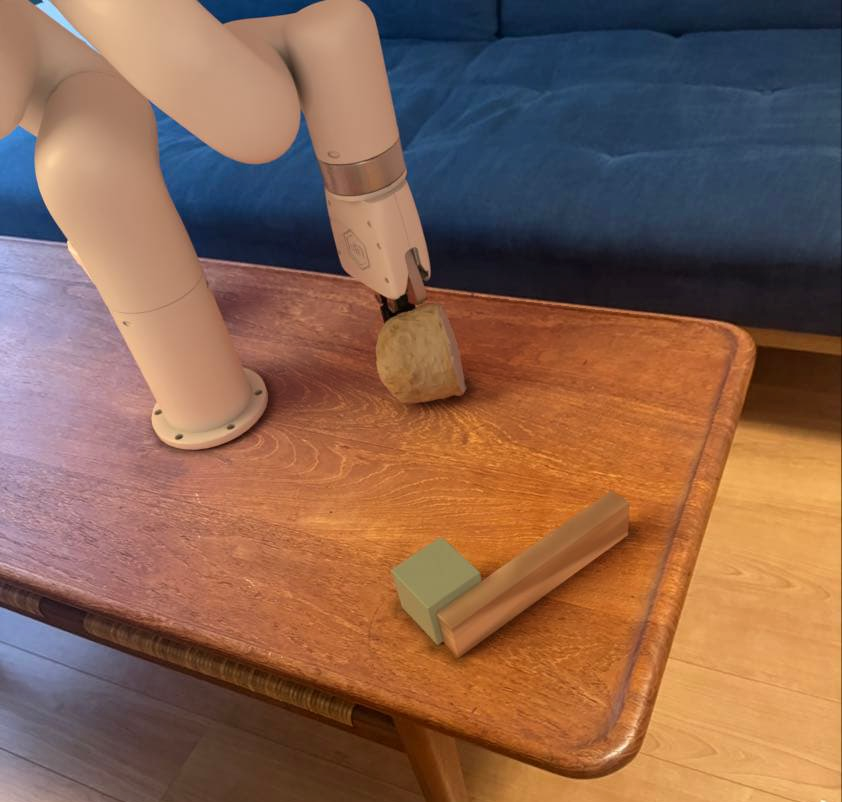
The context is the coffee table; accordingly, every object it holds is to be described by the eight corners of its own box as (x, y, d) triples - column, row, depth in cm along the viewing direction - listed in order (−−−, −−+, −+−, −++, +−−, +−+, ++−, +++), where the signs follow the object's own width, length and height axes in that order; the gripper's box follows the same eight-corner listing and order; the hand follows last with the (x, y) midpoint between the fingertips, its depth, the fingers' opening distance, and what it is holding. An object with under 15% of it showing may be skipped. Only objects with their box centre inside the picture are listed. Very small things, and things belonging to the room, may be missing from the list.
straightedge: (443, 641, 64) (435, 612, 61) (611, 522, 69) (611, 489, 66) (458, 658, 63) (451, 629, 60) (628, 535, 68) (629, 502, 65)
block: (401, 607, 67) (390, 569, 63) (449, 574, 69) (441, 535, 65) (437, 645, 64) (427, 608, 60) (487, 610, 66) (480, 572, 62)
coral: (492, 357, 75) (386, 335, 73) (460, 431, 83) (364, 413, 81) (488, 291, 81) (389, 269, 79) (458, 367, 89) (368, 348, 87)
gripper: (285, 161, 76) (338, 325, 90) (376, 207, 67) (418, 381, 81) (350, 127, 78) (391, 292, 92) (446, 168, 69) (476, 344, 83)
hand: (404, 333), depth 86 cm, fingers closed
